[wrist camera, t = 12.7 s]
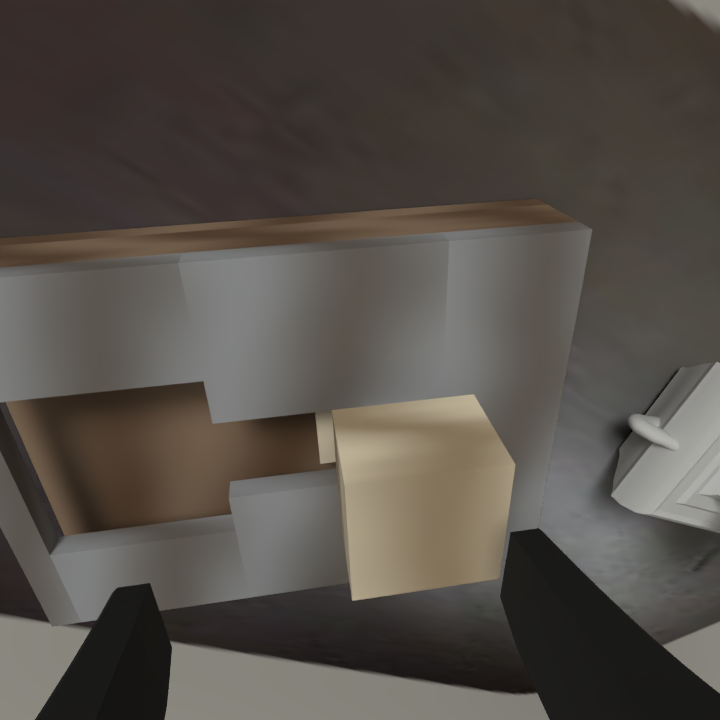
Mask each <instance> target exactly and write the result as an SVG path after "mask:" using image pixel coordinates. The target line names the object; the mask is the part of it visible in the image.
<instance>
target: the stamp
mask: <svg viewBox="0 0 720 720" xmlns="http://www.w3.org/2000/svg"><path fill="white" fill-rule="evenodd" d="M627 423H628V425H629V426H630V428H631V429H632V430H633V431H632V433H631V434H630V435H629V437H628V438H627V439H626V440H625V442H624V443H623V444H622V446H621V447H620V448H619V456H620V457H619V460H618V464H617V468H616V472H615V476H614V480H613V490H612V492H611V496H612V497H613V498H614V499H615V500H616V501H617V502H618V503H619V504H620V505H622V506H624V507H626V508H628V509H630V510H632V511H634V512H636V513H639V514H643V515H648V516H652V517H656V518H660V519H664V520H668V521H672V522H676V523H680V524H684V525H688V526H692V527H696V528H700V529H704V530H709V531H713V532H717V533H720V363H718V362H714V363H712V364H708V363H705V364H701V365H697V366H693V367H689V368H686V367H681V368H680V370H679V371H678V372H677V374H676V375H675V376H674V378H673V379H672V380H671V382H670V383H669V384H668V386H667V387H666V388H665V389H664V391H663V392H662V393H661V395H660V396H659V397H658V399H657V400H656V401H655V403H654V404H653V405H652V406H651V408H650V409H649V410H648V412H647V413H646V414H645V415H641V414H632V415H630V416H629V418H628V420H627Z"/></svg>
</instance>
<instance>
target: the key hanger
mask: <svg viewBox="0 0 720 720" xmlns="http://www.w3.org/2000/svg"><path fill="white" fill-rule="evenodd" d="M315 418H316V429H317V439H318V448H319V457H320V464H324V463H332V462H336V472H337V485H338V498H339V511H340V520H341V527H342V534H343V541H344V548H345V554H346V561H347V568H348V575H349V582H350V588H351V595H352V601H355V600H361V599H368V598H375V597H381V596H388V595H395V594H401V593H408V592H415V591H421V590H428V589H435V588H442V587H448V586H455V585H462V584H468V583H475V582H482V581H488V580H495V579H500V572H501V565H502V558H503V550H504V543H505V536H506V529H507V522H508V515H509V508H510V501H511V493H512V486H513V479H514V472H515V463H514V461H513V460H512V458H511V456H510V454H509V453H508V451H507V449H506V448H505V446H504V444H503V443H502V441H501V439H500V438H499V436H498V434H497V433H496V431H495V429H494V427H493V426H492V424H491V422H490V421H489V419H488V417H487V416H486V414H485V412H484V411H483V409H482V407H481V406H480V404H479V402H478V400H477V399H476V397H475V395H474V394H471V395H462V396H454V397H445V398H436V399H427V400H418V401H409V402H400V403H391V404H382V405H373V406H364V407H356V408H347V409H338V410H332V411H323V412H315Z"/></svg>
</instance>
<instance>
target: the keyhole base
mask: <svg viewBox="0 0 720 720" xmlns="http://www.w3.org/2000/svg"><path fill="white" fill-rule="evenodd" d="M591 234H592V229H590V228H589V227H587V226H585V225H583V224H581V223H580V222H578V221H576V220H574V219H572V218H571V217H569V216H567V215H565V214H563V213H561V212H560V211H558V210H556V209H554V208H552V207H551V206H549V205H547V204H545V203H543V202H541V201H540V200H538V199H525V200H512V201H498V202H485V203H471V204H458V205H444V206H431V207H417V208H404V209H390V210H377V211H363V212H350V213H336V214H323V215H309V216H296V217H282V218H269V219H255V220H242V221H228V222H214V223H201V224H187V225H174V226H160V227H147V228H133V229H120V230H106V231H93V232H79V233H66V234H52V235H39V236H25V237H12V238H0V402H6V404H7V406H8V409H9V411H10V413H11V415H12V418H13V420H14V422H15V425H16V427H17V429H18V431H19V434H20V436H21V438H22V440H23V443H24V445H25V447H26V449H27V452H28V454H29V456H30V458H31V461H32V463H33V465H34V467H35V470H36V472H37V474H38V477H39V479H40V481H41V483H42V486H43V488H44V490H45V492H46V495H47V497H48V499H49V501H50V504H51V506H52V508H53V510H54V513H55V515H56V517H57V519H58V522H59V524H60V526H61V529H62V531H63V533H64V535H65V536H60V537H58V535H57V533H56V531H55V529H54V526H53V524H52V522H51V520H50V517H49V515H48V513H47V511H46V509H45V506H44V504H43V502H42V500H41V498H40V495H39V493H38V491H37V489H36V486H35V484H34V482H33V480H32V478H31V475H30V473H29V471H28V469H27V467H26V464H25V462H24V460H23V458H22V455H21V453H20V451H19V449H18V447H17V444H16V442H15V440H14V438H13V436H12V433H11V431H10V429H9V427H8V424H7V422H6V420H5V418H4V416H3V413H2V411H1V409H0V527H1V529H2V531H3V533H4V535H5V537H6V539H7V541H8V542H9V544H10V546H11V548H12V550H13V552H14V554H15V556H16V558H17V560H18V562H19V564H20V565H21V567H22V569H23V571H24V573H25V575H26V577H27V579H28V581H29V583H30V585H31V587H32V589H33V590H34V592H35V594H36V596H37V598H38V600H39V602H40V604H41V606H42V608H43V610H44V612H45V613H46V615H47V617H48V619H49V621H50V623H51V625H52V626H59V625H65V624H72V623H79V622H86V621H93V620H97V619H98V617H99V615H100V614H101V612H102V610H103V608H104V607H105V605H106V603H107V601H108V599H109V598H110V596H111V594H112V592H113V591H114V590H115V589H116V588H118V587H125V586H132V585H139V584H146V583H150V584H151V587H152V590H153V593H154V596H155V599H156V602H157V605H158V608H159V611H161V610H168V609H175V608H182V607H188V606H195V605H202V604H209V603H216V602H223V601H229V600H236V599H243V598H250V597H257V596H264V595H270V594H277V593H284V592H291V591H298V590H305V589H311V588H318V587H325V586H332V585H339V584H346V583H350V582H349V575H348V568H347V561H346V554H345V548H344V541H343V534H342V527H341V520H340V511H339V498H338V485H337V472H336V462H332V463H324V464H320V457H319V448H318V439H317V429H316V418H315V412H323V411H332V410H338V409H347V408H356V407H364V406H373V405H382V404H391V403H400V402H409V401H418V400H427V399H436V398H445V397H454V396H462V395H471V394H474V395H475V397H476V399H477V400H478V402H479V404H480V406H481V407H482V409H483V411H484V412H485V414H486V416H487V417H488V419H489V421H490V422H491V424H492V426H493V427H494V429H495V431H496V433H497V434H498V436H499V438H500V439H501V441H502V443H503V444H504V446H505V448H506V449H507V451H508V453H509V454H510V456H511V458H512V460H513V461H514V463H515V472H514V479H513V486H512V493H511V501H510V508H509V515H508V522H507V529H506V536H505V543H504V550H503V558H502V561H503V560H506V557H507V551H508V544H509V538H510V532H515V531H522V530H529V529H536V528H538V526H539V520H540V515H541V509H542V504H543V498H544V493H545V487H546V482H547V476H548V471H549V465H550V460H551V454H552V449H553V443H554V438H555V432H556V427H557V421H558V416H559V410H560V405H561V399H562V394H563V388H564V383H565V377H566V372H567V366H568V361H569V355H570V350H571V344H572V339H573V333H574V328H575V322H576V317H577V311H578V306H579V300H580V295H581V289H582V283H583V278H584V272H585V267H586V261H587V256H588V250H589V245H590V239H591Z"/></svg>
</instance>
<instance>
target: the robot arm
mask: <svg viewBox="0 0 720 720" xmlns="http://www.w3.org/2000/svg"><path fill="white" fill-rule="evenodd" d="M500 597H501V600H502V603H503V607H504V610H505V613H506V616H507V619H508V622H509V625H510V628H511V631H512V634H513V637H514V640H515V643H516V646H517V648H518V651H519V653H520V655H521V657H522V660H523V662H524V664H525V666H526V669H527V671H528V673H529V675H530V677H531V680H532V682H533V684H534V686H535V689H536V691H537V693H538V695H539V697H540V700H541V702H542V704H543V706H544V708H545V710H546V713H547V714H548V717H549V719H550V720H720V693H718V692H717V691H716V690H714V689H713V688H712V687H711V686H709V685H708V684H707V683H706V682H704V681H703V680H702V679H700V678H699V677H698V676H697V675H696V674H695V673H693V672H692V671H691V670H690V669H688V668H687V667H686V666H685V665H684V664H682V663H681V662H680V661H679V660H678V659H677V658H675V657H674V656H673V655H672V654H671V653H670V652H668V651H667V650H666V649H665V648H664V647H663V646H661V645H660V644H659V643H658V642H657V641H656V640H655V639H653V638H652V637H651V636H650V635H649V634H648V633H647V632H646V631H644V630H643V629H642V628H641V627H640V626H639V625H638V624H637V623H636V622H635V621H633V620H632V619H631V618H630V617H629V616H628V615H627V614H626V613H625V612H624V611H623V610H622V609H621V608H620V607H618V606H617V605H616V604H615V603H614V602H613V601H612V600H611V599H610V598H609V597H608V596H607V595H606V594H605V593H604V592H603V591H602V590H600V589H599V588H598V587H597V586H596V585H595V584H594V583H593V582H592V581H591V580H590V579H589V578H588V577H587V576H586V575H585V574H584V573H583V572H582V571H581V570H580V569H579V568H578V567H577V566H576V565H575V564H574V563H573V562H572V561H571V560H570V559H569V558H568V557H567V556H566V555H565V554H564V553H563V552H562V551H561V550H560V549H559V548H558V547H557V546H556V545H555V544H554V543H553V542H552V541H551V540H550V539H549V538H548V536H547V535H546V534H545V533H544V532H543V531H541V530H540V529H539V528H536V529H529V530H522V531H515V532H510V538H509V544H508V551H507V557H506V564H505V570H504V576H503V583H502V589H501V595H500ZM171 652H172V646H171V643H170V641H169V638H168V635H167V632H166V629H165V626H164V623H163V620H162V617H161V614H160V611H159V608H158V605H157V602H156V599H155V596H154V593H153V590H152V587H151V584H150V583H146V584H139V585H132V586H125V587H118V588H116V589H115V590H114V591H113V592H112V594H111V596H110V598H109V599H108V601H107V603H106V605H105V607H104V608H103V610H102V612H101V614H100V615H99V617H98V619H97V620H96V622H95V624H94V626H93V627H92V629H91V631H90V633H89V634H88V636H87V638H86V639H85V641H84V643H83V644H82V646H81V648H80V649H79V651H78V653H77V654H76V656H75V658H74V659H73V661H72V662H71V664H70V666H69V667H68V669H67V671H66V672H65V674H64V675H63V677H62V678H61V680H60V682H59V683H58V685H57V686H56V688H55V689H54V691H53V693H52V694H51V696H50V697H49V699H48V701H47V702H46V704H45V705H44V707H43V708H42V710H41V712H40V713H39V714H38V716H37V718H36V719H35V720H164V718H165V713H166V707H167V698H168V688H169V677H170V664H171Z"/></svg>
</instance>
